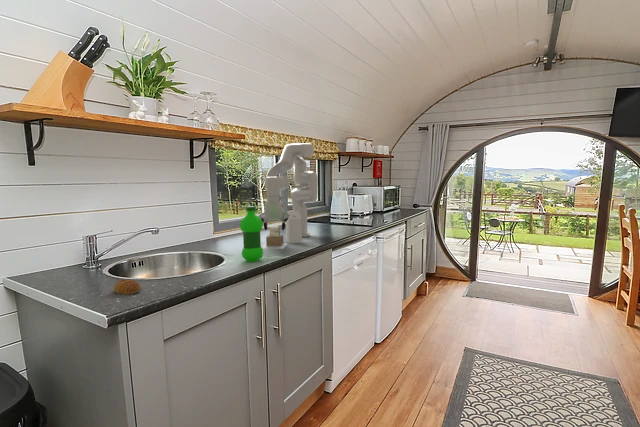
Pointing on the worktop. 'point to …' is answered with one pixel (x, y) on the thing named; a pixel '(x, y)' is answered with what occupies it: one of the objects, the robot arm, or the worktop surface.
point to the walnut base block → (274, 241)
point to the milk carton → (293, 227)
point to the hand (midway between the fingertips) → (274, 229)
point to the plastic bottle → (251, 235)
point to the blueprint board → (274, 246)
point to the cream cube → (274, 231)
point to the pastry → (126, 287)
